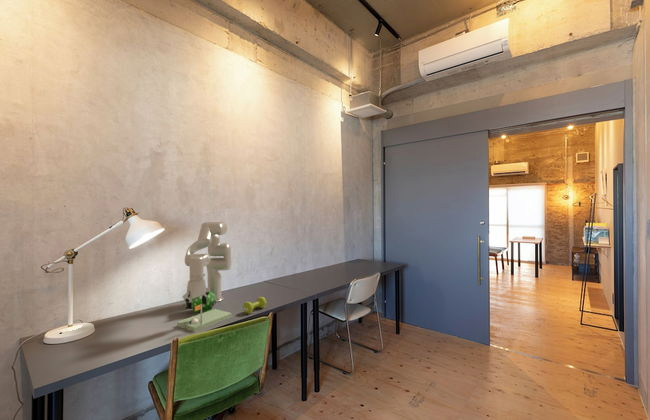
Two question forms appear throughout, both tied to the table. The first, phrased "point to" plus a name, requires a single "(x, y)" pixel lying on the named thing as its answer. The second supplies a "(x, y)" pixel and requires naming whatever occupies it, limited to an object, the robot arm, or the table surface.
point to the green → (204, 319)
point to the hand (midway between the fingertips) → (197, 306)
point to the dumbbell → (254, 305)
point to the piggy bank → (198, 301)
